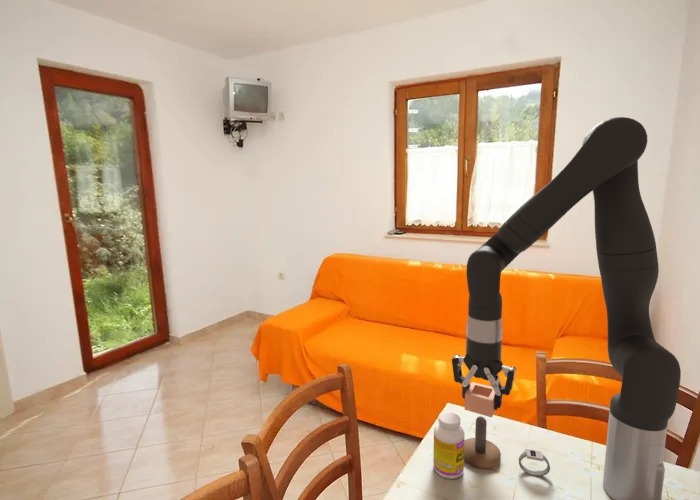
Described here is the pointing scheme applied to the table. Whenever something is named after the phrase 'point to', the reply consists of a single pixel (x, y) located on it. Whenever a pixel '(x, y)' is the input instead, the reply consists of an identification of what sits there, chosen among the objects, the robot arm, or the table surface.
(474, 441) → the post stand
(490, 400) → the pink hollow square block
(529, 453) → the wristwatch
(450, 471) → the supplement bottle
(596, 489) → the table surface
